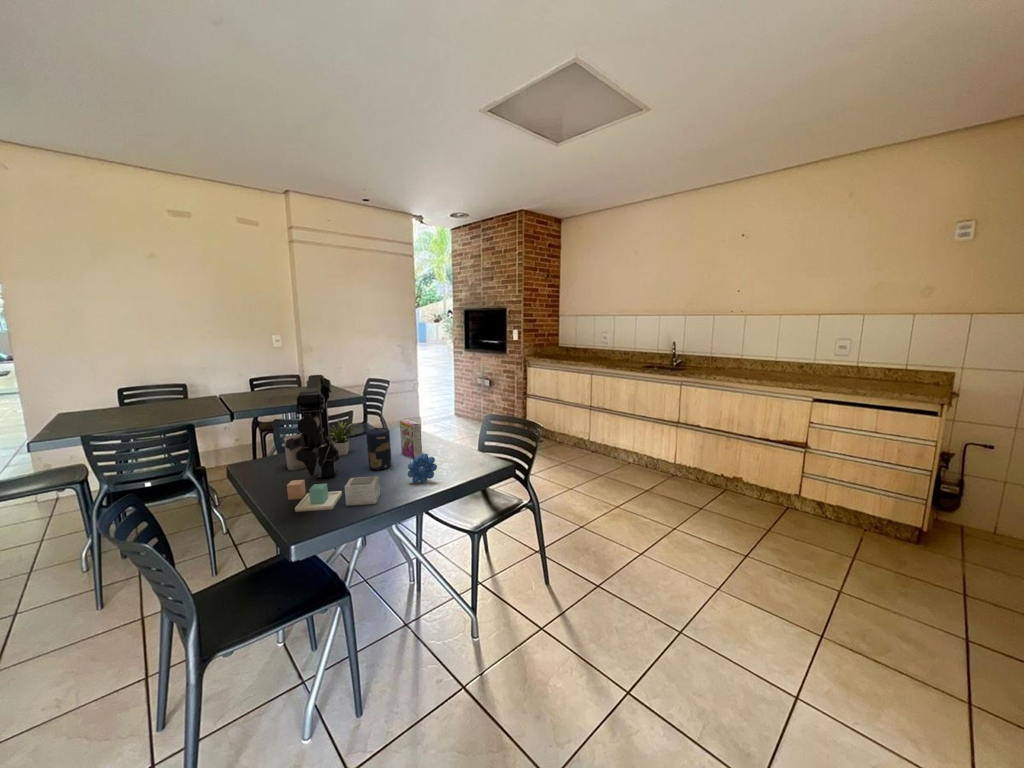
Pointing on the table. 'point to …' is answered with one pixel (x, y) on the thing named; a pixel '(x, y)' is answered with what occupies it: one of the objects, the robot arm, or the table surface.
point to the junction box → (362, 491)
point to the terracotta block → (296, 489)
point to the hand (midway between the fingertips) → (316, 470)
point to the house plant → (341, 438)
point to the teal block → (318, 493)
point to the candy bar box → (411, 438)
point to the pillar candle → (293, 456)
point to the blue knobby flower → (422, 468)
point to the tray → (329, 504)
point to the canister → (378, 448)
